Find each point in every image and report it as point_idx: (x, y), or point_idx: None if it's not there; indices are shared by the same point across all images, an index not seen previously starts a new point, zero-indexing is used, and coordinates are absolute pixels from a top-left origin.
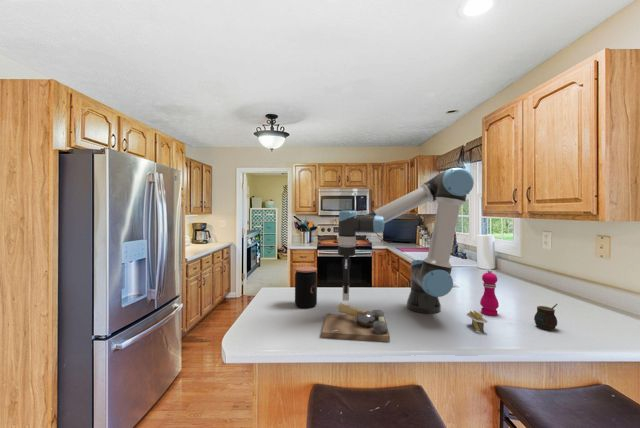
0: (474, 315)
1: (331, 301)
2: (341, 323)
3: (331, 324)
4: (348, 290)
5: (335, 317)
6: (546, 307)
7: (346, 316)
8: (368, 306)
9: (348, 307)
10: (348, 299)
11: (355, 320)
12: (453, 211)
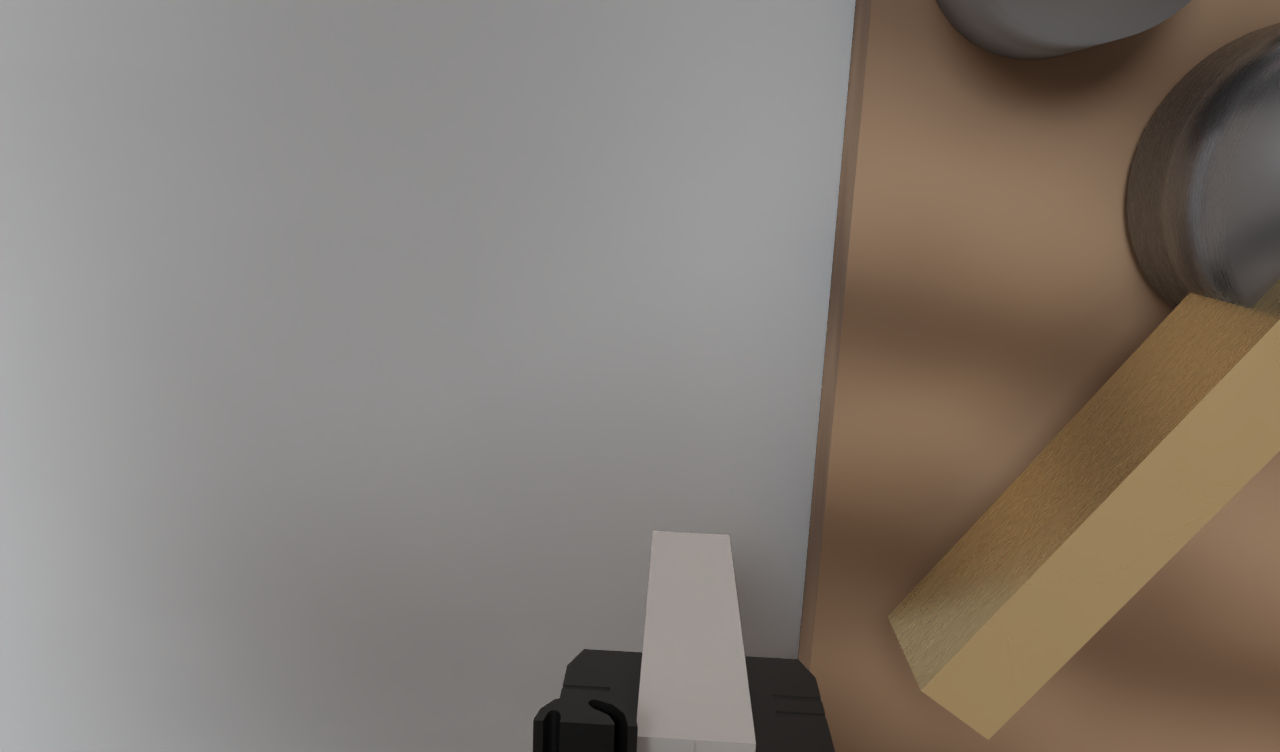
0: None
1: (18, 685)
2: (1216, 570)
3: (1252, 707)
4: (745, 669)
5: None
6: None
7: (910, 491)
8: (120, 53)
9: (1175, 551)
10: (727, 552)
11: (1091, 352)
12: None
